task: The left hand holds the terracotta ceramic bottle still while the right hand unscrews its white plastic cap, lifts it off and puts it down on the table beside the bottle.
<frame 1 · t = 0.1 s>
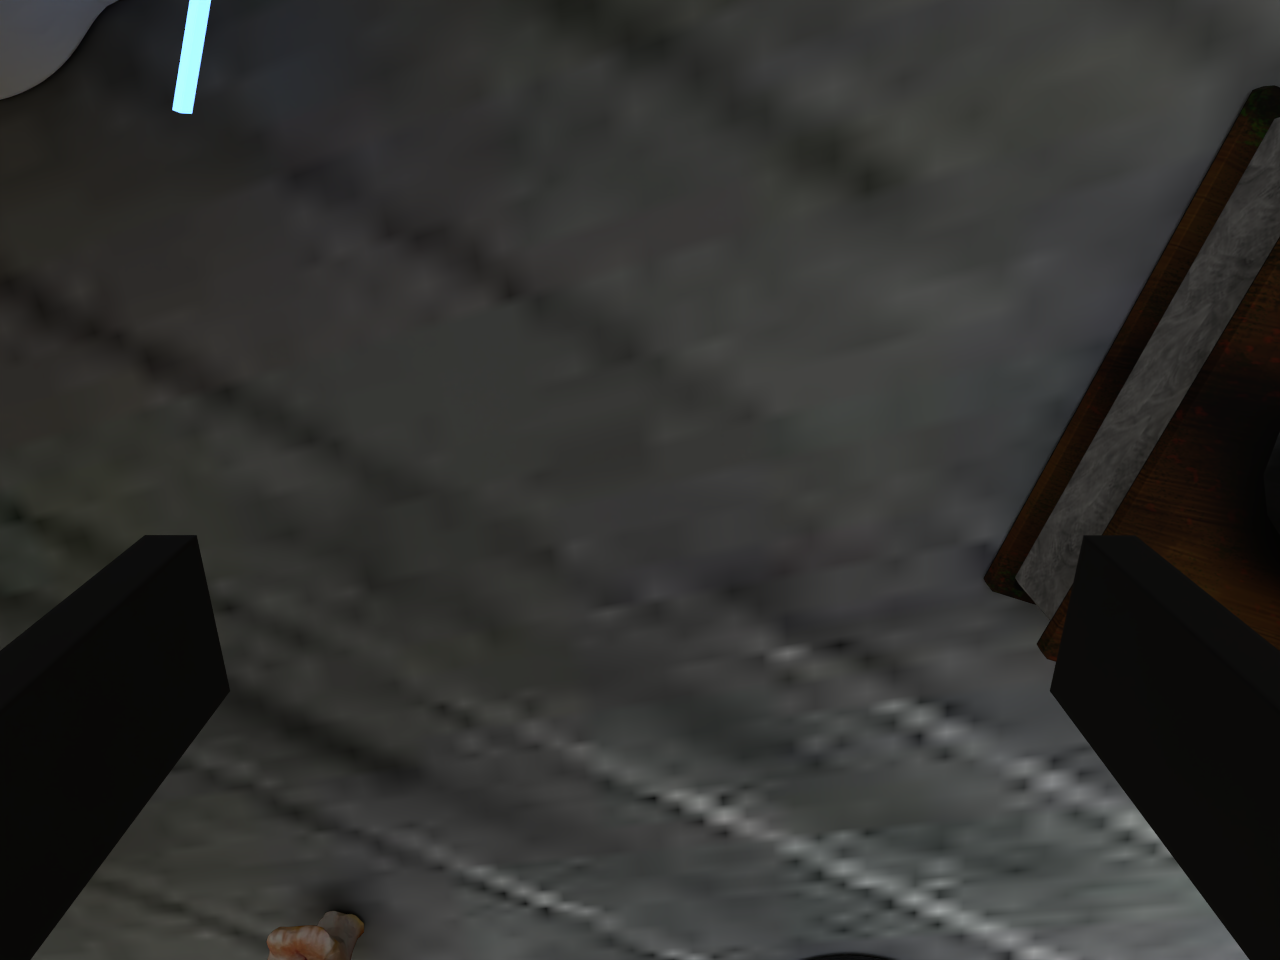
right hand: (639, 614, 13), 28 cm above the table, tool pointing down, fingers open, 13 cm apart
figurine: (327, 924, 53), on the table
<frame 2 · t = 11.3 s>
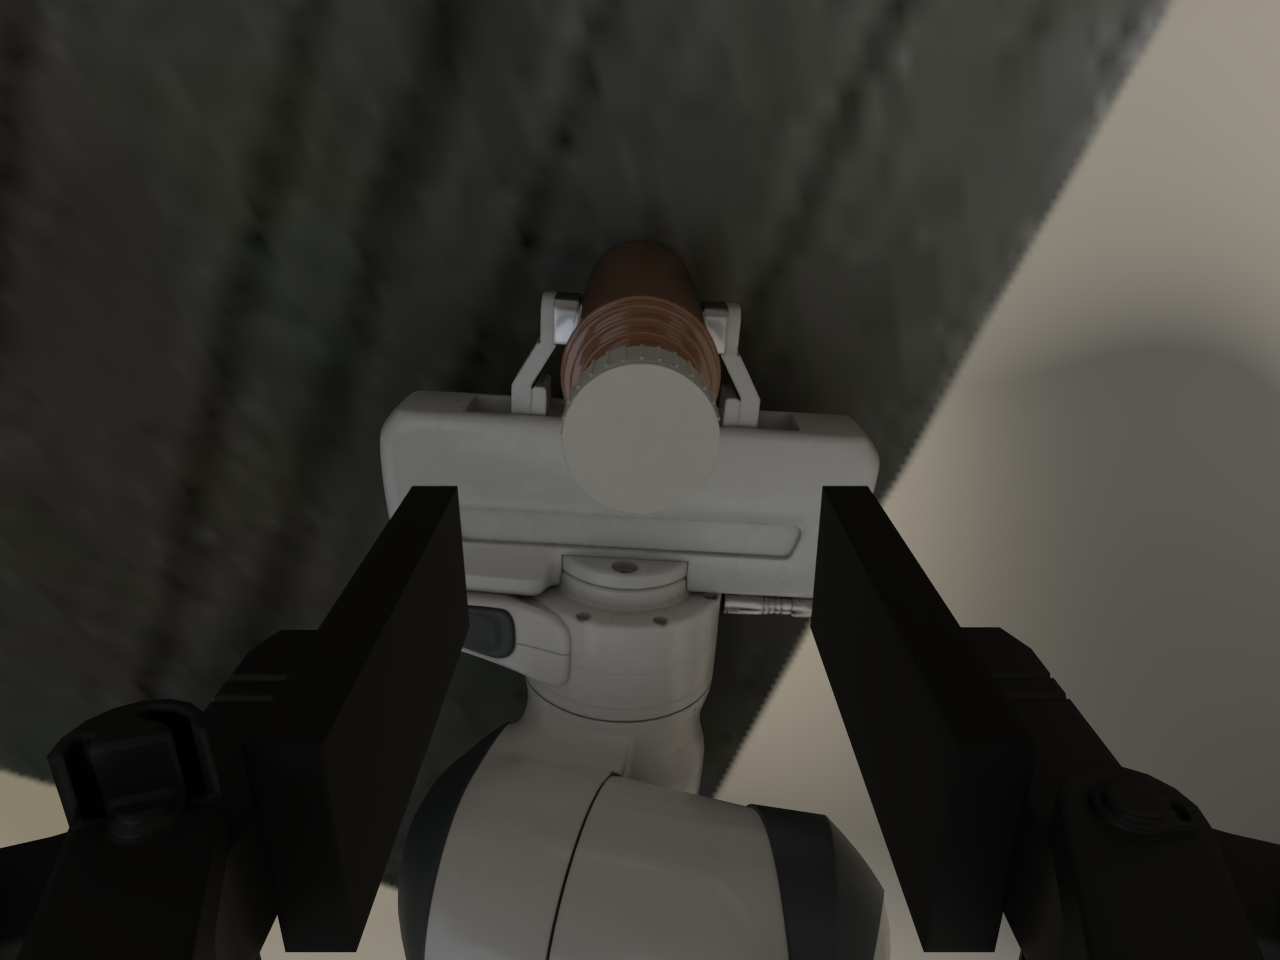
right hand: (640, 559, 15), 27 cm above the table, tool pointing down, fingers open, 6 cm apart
left hand: (640, 298, 33), fingers closed on bottle, 5 cm apart
cap: (640, 437, 21), point 20 cm above the table, screwed on, not yet turned
bottle: (640, 294, 39), on the table, touching left hand
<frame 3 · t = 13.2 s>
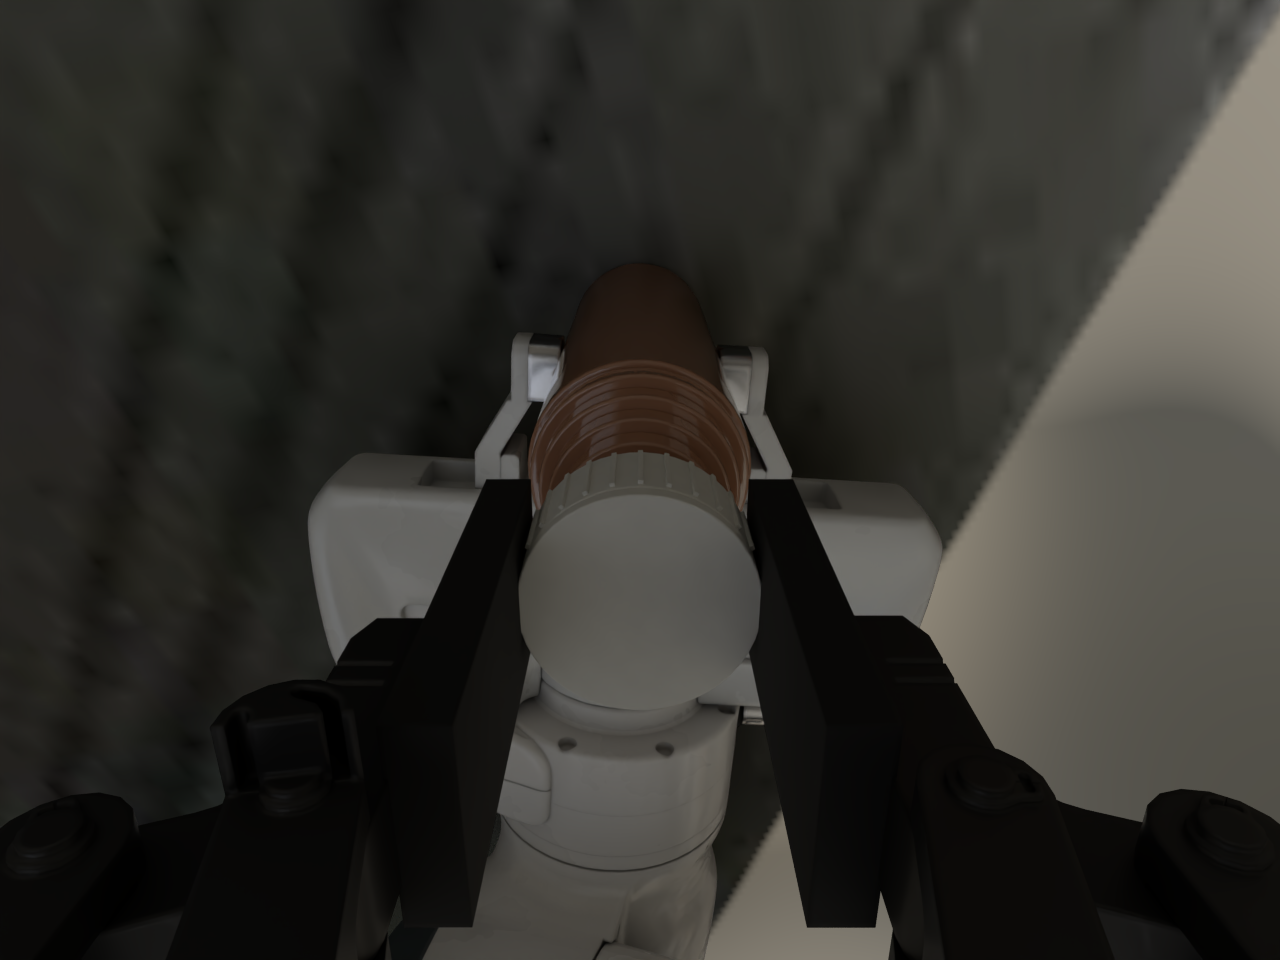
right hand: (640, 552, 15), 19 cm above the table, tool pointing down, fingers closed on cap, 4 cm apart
cap: (639, 598, 13), point 20 cm above the table, screwed on, not yet turned, touching right hand
bottle: (639, 328, 32), on the table, touching left hand
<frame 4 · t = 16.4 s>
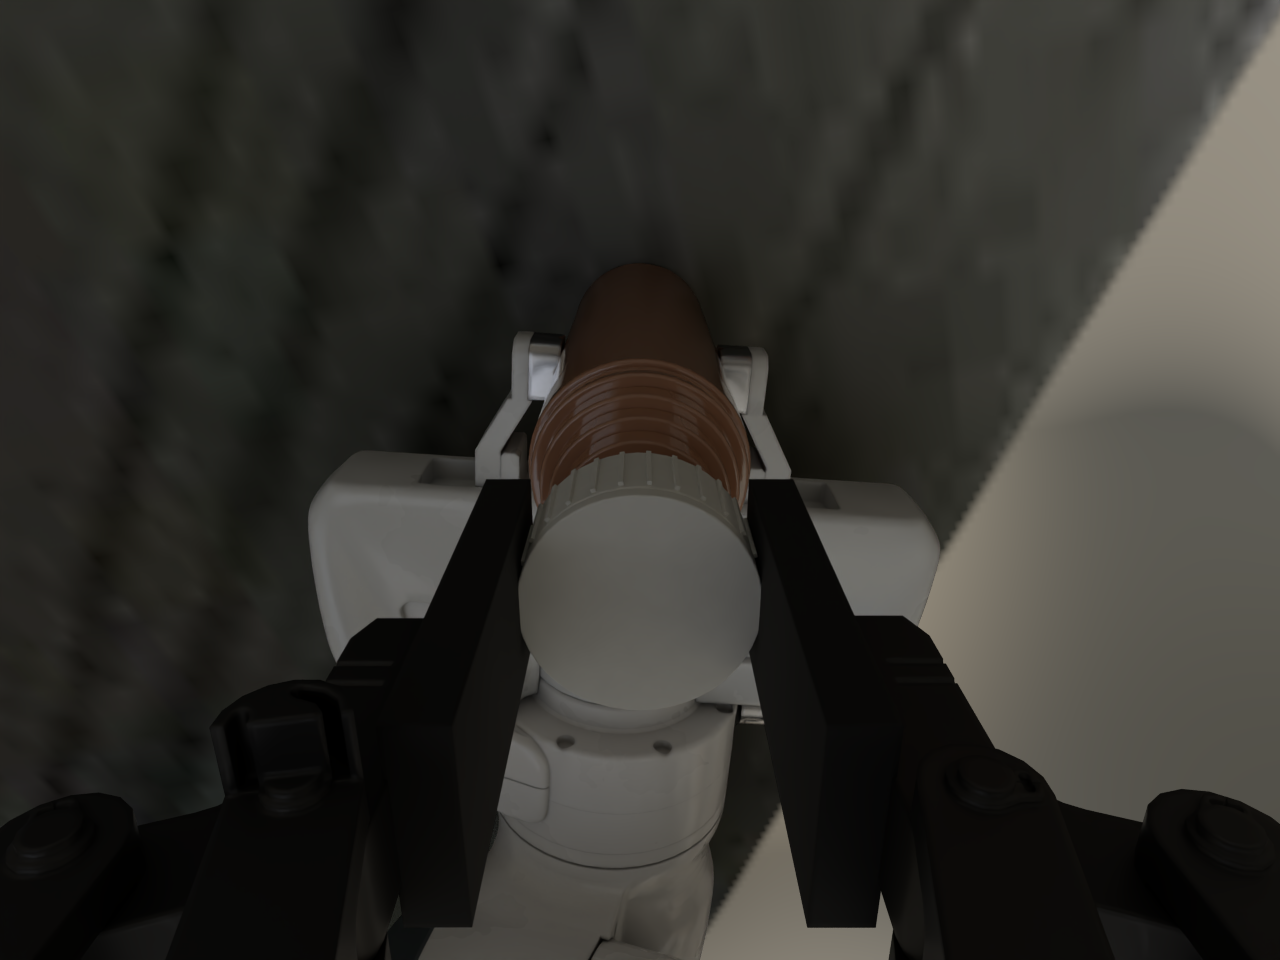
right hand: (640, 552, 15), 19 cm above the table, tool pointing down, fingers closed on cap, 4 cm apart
cap: (639, 599, 13), point 20 cm above the table, turned 86° so far, risen 0.1 cm, still on its thread, touching right hand
bottle: (639, 328, 32), on the table, touching left hand
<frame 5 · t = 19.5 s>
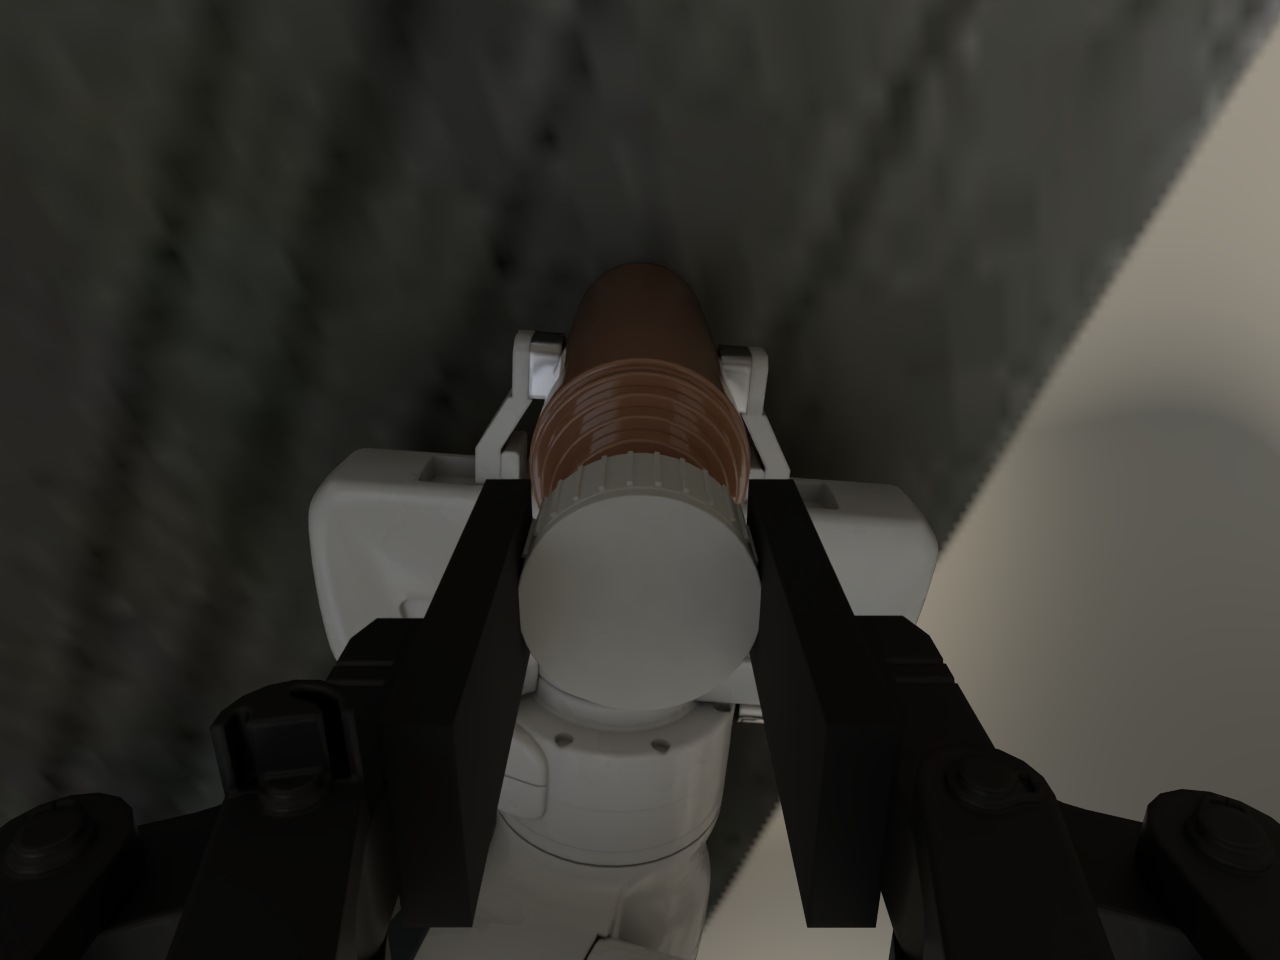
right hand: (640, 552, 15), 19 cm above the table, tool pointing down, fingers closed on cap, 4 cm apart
cap: (639, 599, 13), point 21 cm above the table, turned 173° so far, risen 0.2 cm, still on its thread, touching right hand
bottle: (639, 328, 32), on the table, touching left hand
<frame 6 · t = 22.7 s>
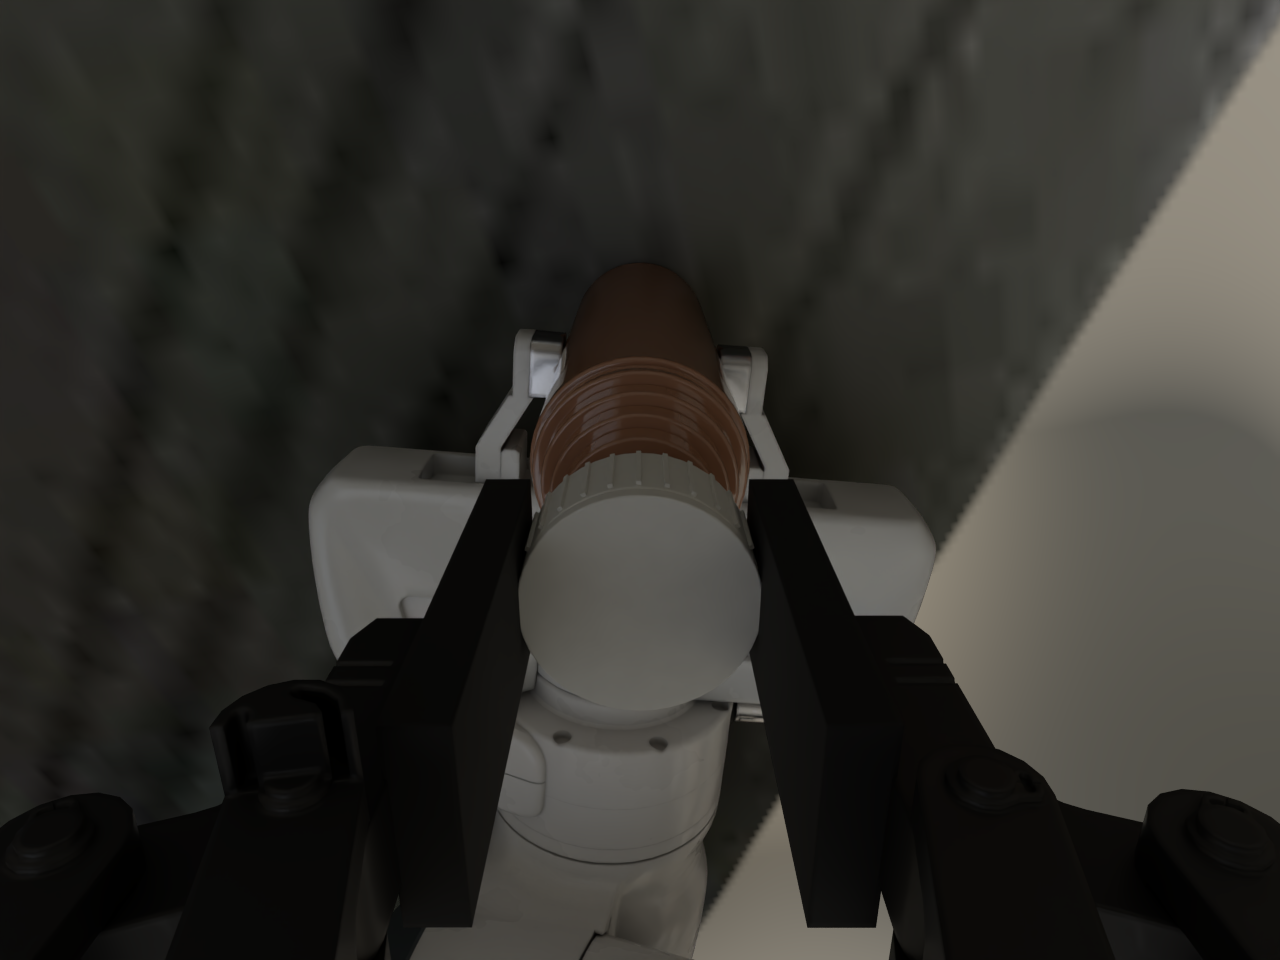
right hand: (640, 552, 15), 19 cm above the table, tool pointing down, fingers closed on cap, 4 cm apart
cap: (639, 599, 13), point 21 cm above the table, turned 259° so far, risen 0.3 cm, still on its thread, touching right hand
bottle: (639, 327, 32), on the table, touching left hand
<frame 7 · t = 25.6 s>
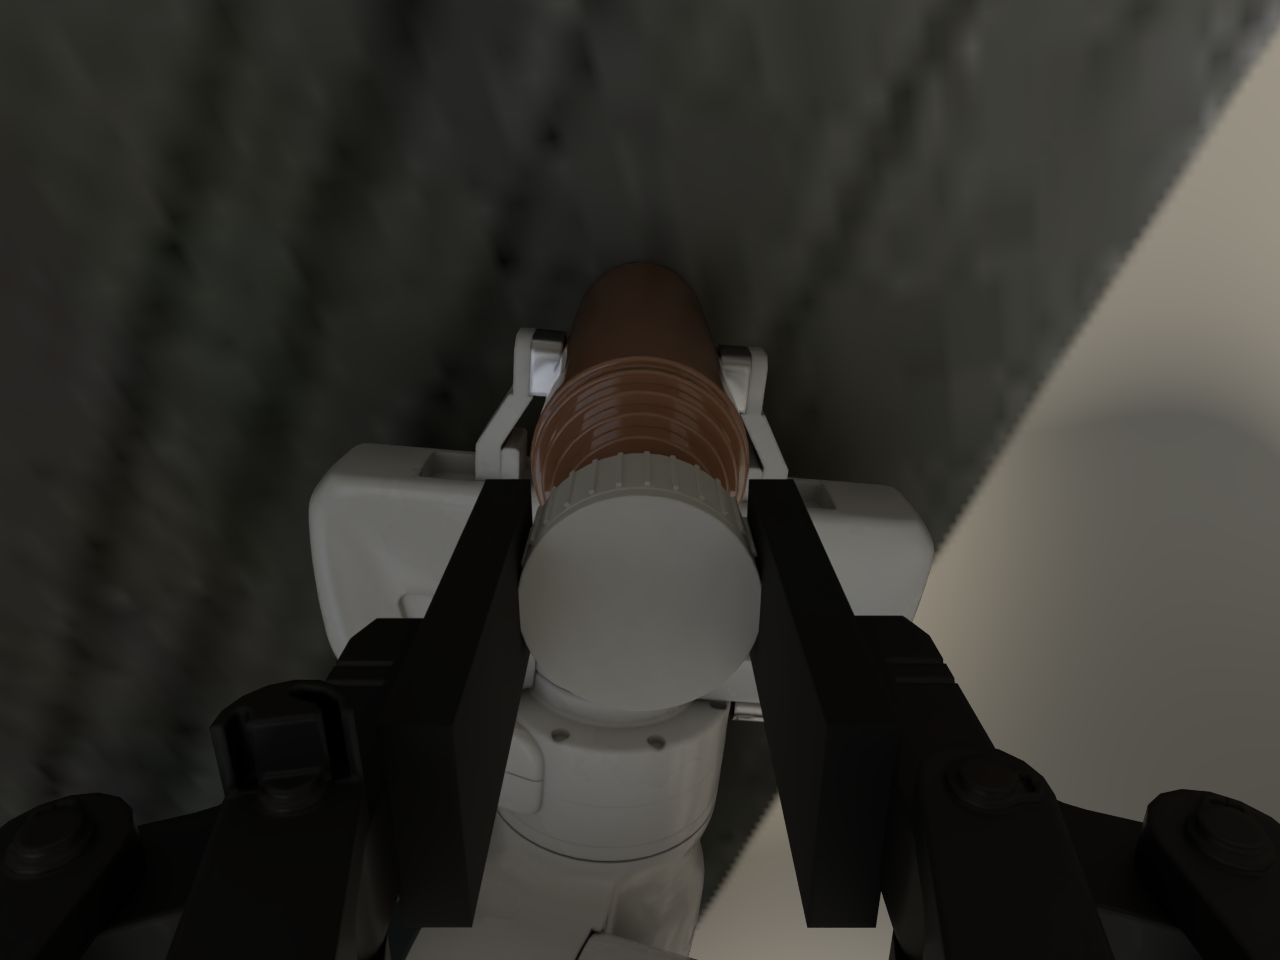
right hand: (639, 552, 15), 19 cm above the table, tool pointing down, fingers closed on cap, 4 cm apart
cap: (640, 599, 13), point 21 cm above the table, turned 346° so far, risen 0.4 cm, still on its thread, touching right hand
bottle: (640, 327, 33), on the table, touching left hand
when the right hand's fingers open (1 cm above the table, at t = 35.7 s): cap drops 1 cm, point 2 cm above the table.
when the left hand's fingers open (6 cm above the table, at t = 37.1 s): bottle stays where it is, on the table.
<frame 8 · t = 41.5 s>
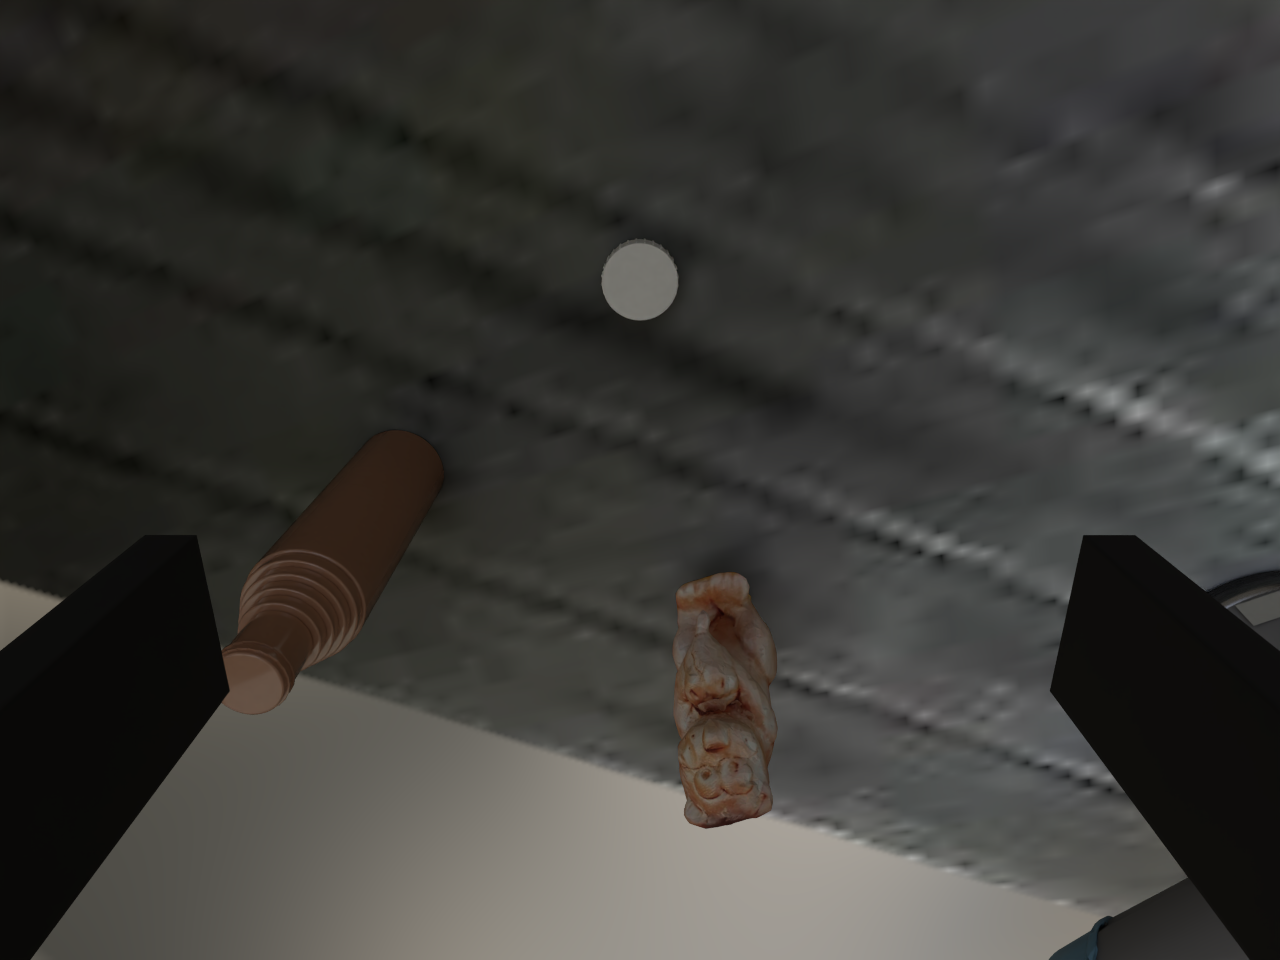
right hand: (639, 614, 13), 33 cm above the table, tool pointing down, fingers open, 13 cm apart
cap: (639, 281, 42), point 2 cm above the table, off its thread
bottle: (400, 470, 48), on the table
figurine: (710, 605, 51), on the table
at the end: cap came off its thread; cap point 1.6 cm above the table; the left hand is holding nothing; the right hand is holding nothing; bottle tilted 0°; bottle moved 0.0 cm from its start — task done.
